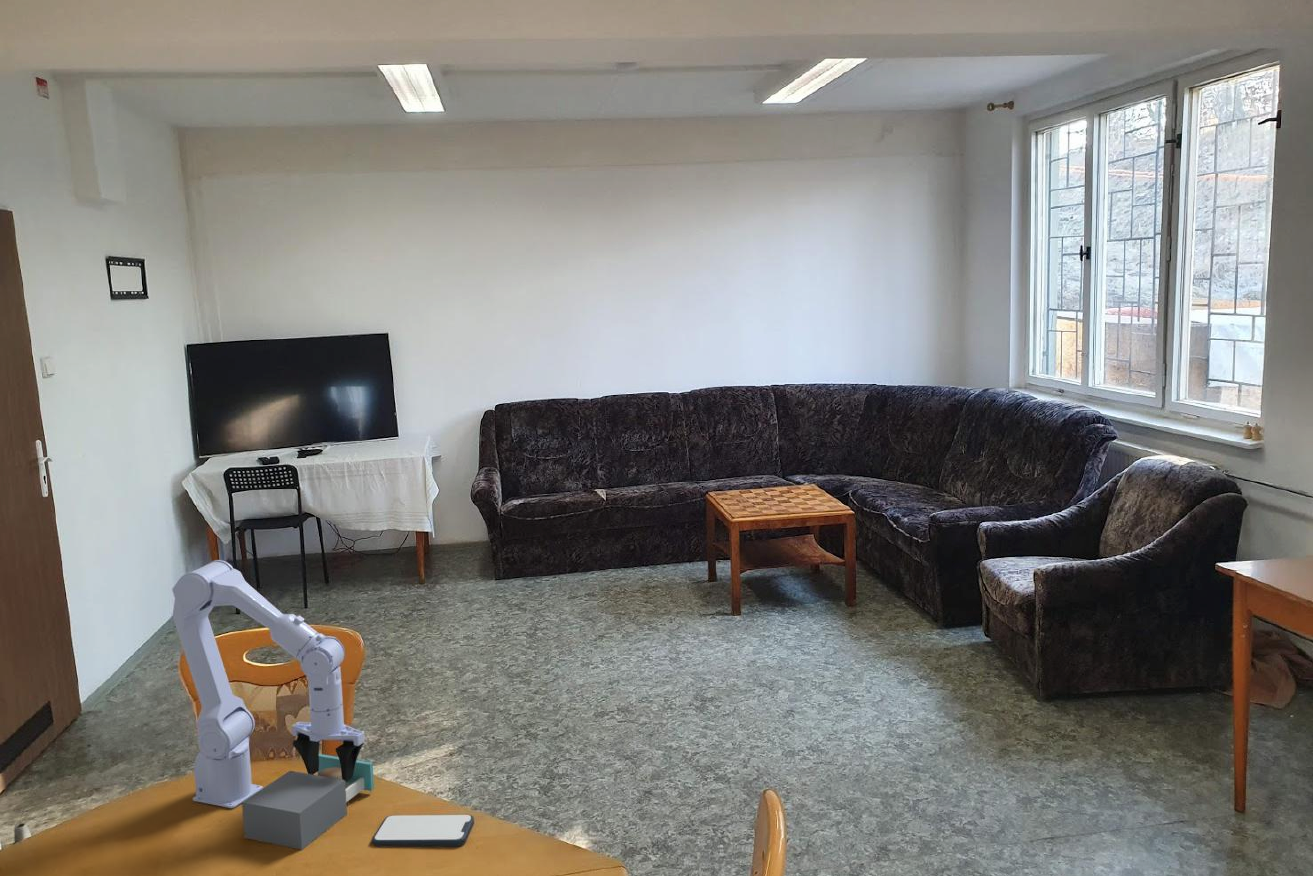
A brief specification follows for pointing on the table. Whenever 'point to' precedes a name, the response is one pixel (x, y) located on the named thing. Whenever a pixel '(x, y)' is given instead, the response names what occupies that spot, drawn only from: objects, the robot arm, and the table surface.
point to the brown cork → (331, 773)
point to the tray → (360, 776)
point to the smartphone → (424, 831)
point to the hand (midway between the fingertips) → (330, 776)
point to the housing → (294, 809)
